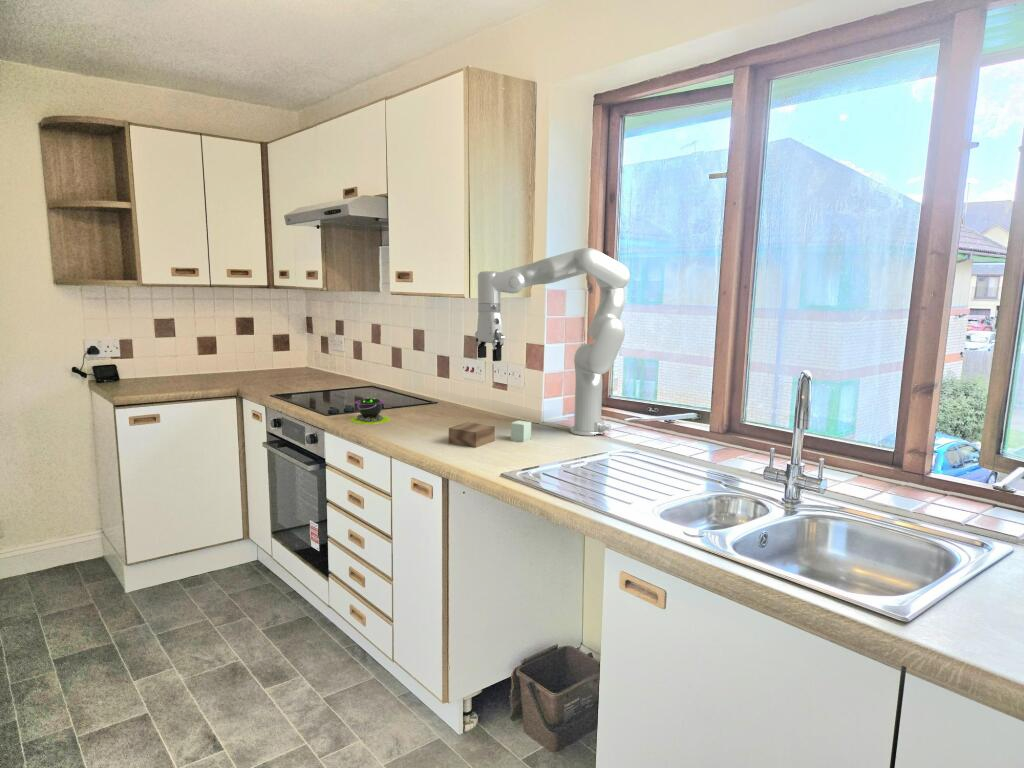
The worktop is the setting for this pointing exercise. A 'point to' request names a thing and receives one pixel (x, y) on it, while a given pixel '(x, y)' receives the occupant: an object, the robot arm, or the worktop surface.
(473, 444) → the block
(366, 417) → the toy cauldron
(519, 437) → the sage block
